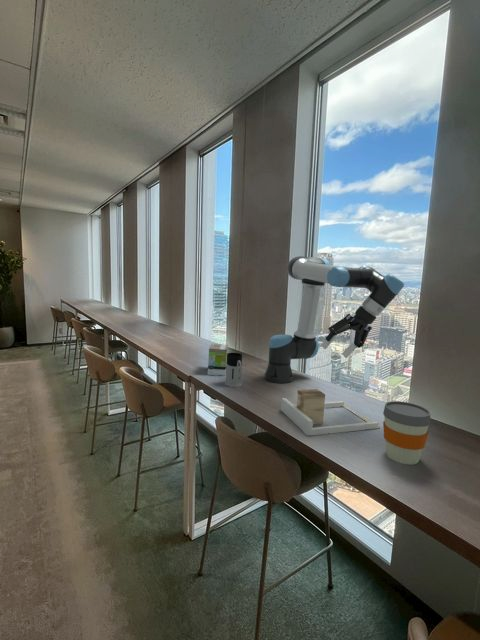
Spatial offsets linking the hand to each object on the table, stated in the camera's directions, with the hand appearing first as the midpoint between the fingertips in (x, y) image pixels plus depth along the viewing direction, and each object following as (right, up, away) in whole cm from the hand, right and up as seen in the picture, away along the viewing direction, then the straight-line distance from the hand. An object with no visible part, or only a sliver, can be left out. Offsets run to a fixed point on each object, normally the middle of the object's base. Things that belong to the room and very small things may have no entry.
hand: (333, 351), depth 132 cm
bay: (-5, -25, -8) cm, 27 cm away
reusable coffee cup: (+11, -28, -34) cm, 46 cm away
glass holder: (-41, -19, +26) cm, 52 cm away
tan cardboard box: (-12, -25, -11) cm, 30 cm away
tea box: (-51, -16, +49) cm, 72 cm away
